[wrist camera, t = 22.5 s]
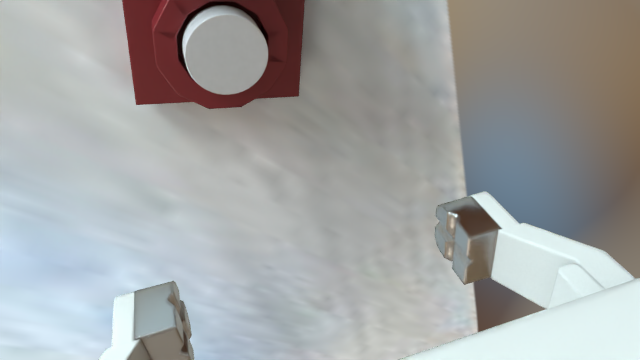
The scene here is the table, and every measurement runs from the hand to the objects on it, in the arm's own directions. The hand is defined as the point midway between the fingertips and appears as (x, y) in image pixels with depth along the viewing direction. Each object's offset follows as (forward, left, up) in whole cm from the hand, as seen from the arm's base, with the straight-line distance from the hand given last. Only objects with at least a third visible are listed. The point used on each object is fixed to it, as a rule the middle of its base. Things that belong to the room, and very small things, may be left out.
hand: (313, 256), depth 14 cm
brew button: (0, 0, -18) cm, 18 cm away
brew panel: (0, 0, -21) cm, 21 cm away
